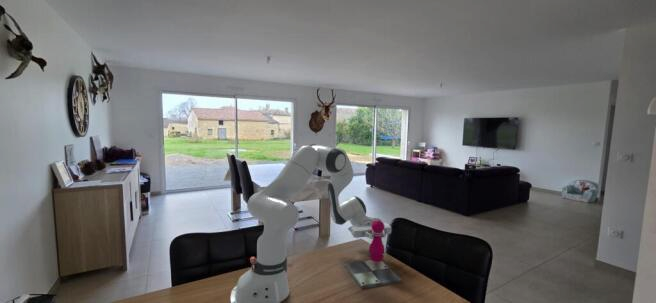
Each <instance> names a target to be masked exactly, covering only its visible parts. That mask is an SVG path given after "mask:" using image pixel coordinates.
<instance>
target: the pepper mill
mask: <svg viewBox="0 0 656 303" xmlns="http://www.w3.org/2000/svg"><path fill="white" fill-rule="evenodd" d="M380 219H381V218H380V217H377V219H376V221H374V222H373V223H372V225H371V227H372V229H373V231H372V234H373V235H374V239H372V241H371V243H370V245H369V248H368V250H369V253H370V254H369V260H372V261H375V262H381V261H383V260H384V254H385V252H386V251H385V249H386V248H385V246H384V245H385V244H384V243H383V240H382V235H383V230H384V224H383V222H384V221H383V222H381V221H380ZM383 262H384V261H383Z"/></svg>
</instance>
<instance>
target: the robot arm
mask: <svg viewBox="0 0 656 303" xmlns="http://www.w3.org/2000/svg"><path fill="white" fill-rule="evenodd" d="M315 169H317V170H319V171H323V172H329V173H330V179H329V182H328V184H327V195H328V201H329V206H330V207H329V208H330V210H329V211H330V217H331V219H332V221H333V223H335V224H336V225H340V226H341V225H342V226H343V225H344V224H346V223H347V222H348V221H349V223H350V224H351V226H350V227H348V228H347V229H348V231H349V232H350V233H351V235H352V237H353V238H354V239H359V238H368V239H371V240H373V239H374V235H373V234H372V231H373V229H372V227H371V225H372V223H373V222H374V221H376V219H377V218H378V217H377V218H376V217H369V216H367V215H366V214H367V206H366V204H365V203H364V201H363V200H362V199H361V198H360V197H358V196H355V195H353V196H352V197H350V198H347V199H346V200H345V201H343V202H341V203H340V201H339V197H340V194H341V193H342V192H343V191H344V190H345V189H346V188H347V187H348V186H349V185H350V184H351V182H352V181H353V179H354V169H353V166H352V163H351V160H350V158H349V156H348V154H347V152H346V151H345V150H344V148H341V147H330V146H327V145H323V144H315V143H313V144H307V145H302V146H300V148H299V149H298V150H296V151H295V152H294V154H293V155H292V156H291V157H290V159H289V160H288V161H287V162H286V164H285V166H284V167H283V168H282V170H281V171H280V172H279V174H278V175H277V176H276V178H275V179H273V180H272V181H271V182H270V183H269V184H268V185H267V186H266V187H264V188H263V189H261V190H260V191H258V192H256V193H253V194H252V195H251V196H249V199H247V200H248V201H247V203H246V206H247V207H246V209H247V211H248V213H249V214H250V215H251V216H252V217H253V218H254V219H255V220H258V221H260V222H261V223H262V224H263V226H264V227H263V231H262V234H261V235H260V236H259V237H258V239H257V240H256V241H257V242H256V257H255V256H251V257H250V258H249V261H250V263H251V268H249V270H247V271H246V272H245V273H243V274H242V275H240V277H239V279H238V281H237V284H236V286H234V287H233V289H231V292H230V297H229V301H230V302H229V303H281V302H283V301H284V300H285V299H287V298H288V296H289V295H290V293H291V290H290V289H291V288H290V287H289V283H288V275H287V271H288V258H287V239H288V235H289V232H290V231H291V230H292V229H293V228H294V227H295V226H296V225H297V223H298V221H299V217H300V216H299V215H300V212H299V210H298V207H297V206H295V204H293V203H292V202H291V201H290V200H289V199H290V198H292V197H293V196H296V195H299V194H300V193H301V192H302V191H303V189H304V187H305V186H306V184H307V183H308V181H309V179H310V178H311V176H312V174H313V173H314V170H315ZM380 221H381V222H383V224H384V230H383V235H382V238H386V236H387V235H391V234H392V226H391V225H390V224H389V223H387V222H385V221H383V220H382V218H380Z"/></svg>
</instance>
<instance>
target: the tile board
mask: <svg viewBox="0 0 656 303" xmlns="http://www.w3.org/2000/svg"><path fill="white" fill-rule="evenodd" d="M344 268H345V269H346V270H347V272H348V273H349V275H350V276H351V277H352V278H353V280H354V282H356V284H357V285H358V287H359V288H360V289H361V290H362V289H369V288H373V287H381V286H385V285H391V284H398V283H402V278H400V276H398V274H396V272H395V271H394V270H392V269H391V267H389V266H388V265H387V264H386V263H385V262H384V261H381V262H375V261H372V260H371V259H369V260H363V261H354V262H347V263H344Z"/></svg>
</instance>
